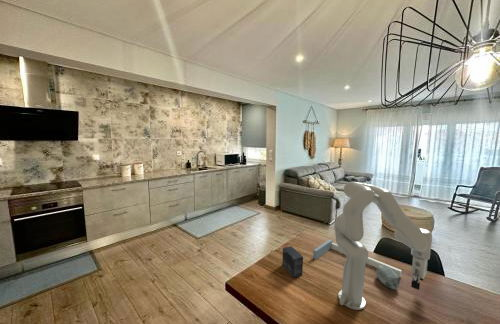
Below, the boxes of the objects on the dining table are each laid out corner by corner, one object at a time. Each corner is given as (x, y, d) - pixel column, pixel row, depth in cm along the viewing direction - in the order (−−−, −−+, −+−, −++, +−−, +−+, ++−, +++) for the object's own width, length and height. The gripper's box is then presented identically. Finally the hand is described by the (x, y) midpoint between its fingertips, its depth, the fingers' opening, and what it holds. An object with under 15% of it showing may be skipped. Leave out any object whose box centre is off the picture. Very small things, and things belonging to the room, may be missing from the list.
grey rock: (407, 288, 112) (397, 269, 114) (390, 295, 113) (380, 276, 115) (393, 277, 125) (385, 260, 127) (378, 283, 126) (370, 267, 128)
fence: (389, 295, 111) (390, 285, 110) (313, 258, 144) (313, 250, 143) (401, 276, 126) (402, 267, 125) (329, 246, 159) (330, 238, 159)
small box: (302, 275, 127) (303, 256, 125) (293, 278, 124) (293, 259, 123) (290, 262, 139) (291, 245, 137) (281, 265, 136) (282, 247, 135)
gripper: (426, 263, 99) (423, 296, 102) (432, 249, 111) (429, 279, 113) (407, 256, 105) (404, 288, 107) (415, 244, 116) (412, 272, 119)
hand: (417, 283), depth 110 cm, fingers open, 9 cm apart
